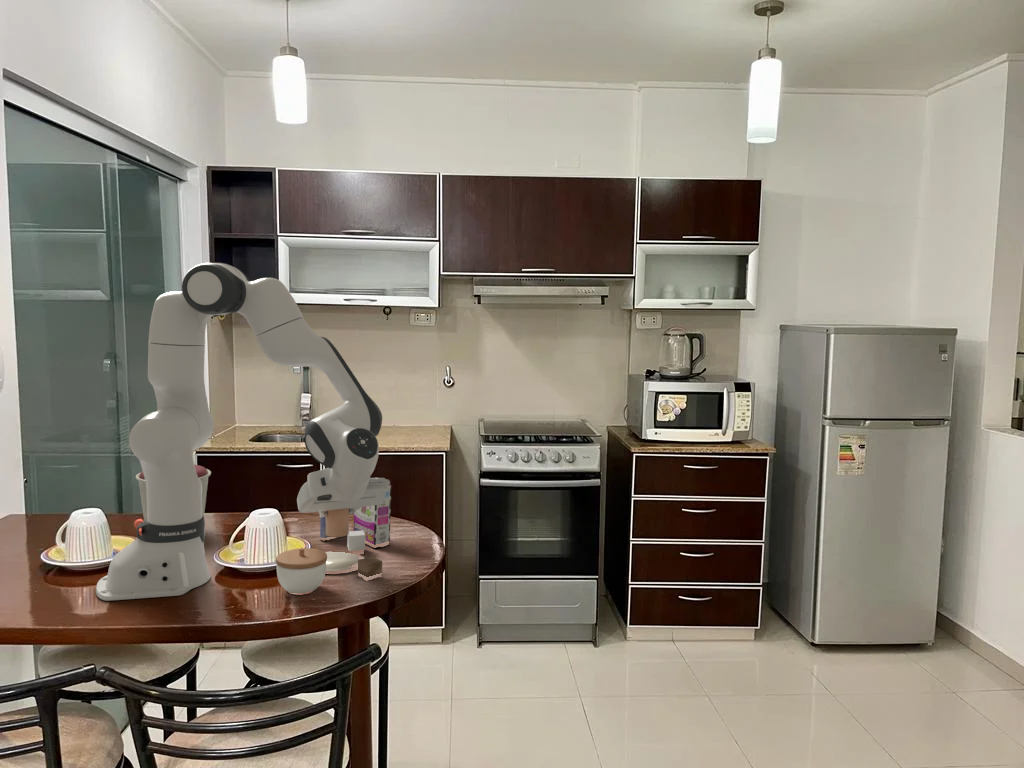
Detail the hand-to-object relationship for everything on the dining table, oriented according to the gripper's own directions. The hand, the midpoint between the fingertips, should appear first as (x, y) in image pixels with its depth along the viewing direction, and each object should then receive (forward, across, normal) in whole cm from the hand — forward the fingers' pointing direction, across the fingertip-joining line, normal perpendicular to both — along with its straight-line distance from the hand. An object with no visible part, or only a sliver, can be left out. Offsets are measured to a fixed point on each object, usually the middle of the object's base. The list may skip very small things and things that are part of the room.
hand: (336, 513), depth 175 cm
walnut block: (+1, -5, +17) cm, 18 cm away
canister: (+36, +33, -19) cm, 52 cm away
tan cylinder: (+3, 0, +4) cm, 5 cm away
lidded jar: (0, +11, +18) cm, 22 cm away
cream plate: (+9, 0, +9) cm, 13 cm away
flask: (+24, -5, -6) cm, 25 cm away
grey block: (+14, -7, +4) cm, 16 cm away
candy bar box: (+18, -13, 0) cm, 22 cm away
